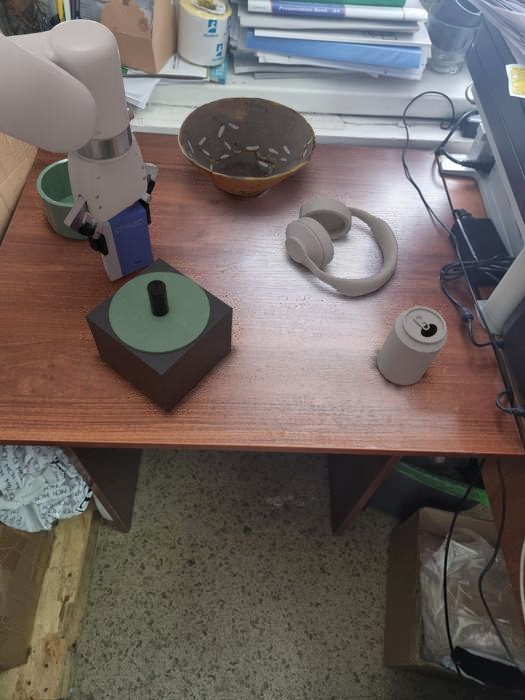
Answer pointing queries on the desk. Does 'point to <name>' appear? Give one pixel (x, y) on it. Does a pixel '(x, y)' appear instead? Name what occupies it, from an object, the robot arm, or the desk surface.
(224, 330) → the stand
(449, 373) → the desk surface
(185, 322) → the lid
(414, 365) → the can
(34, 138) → the robot arm
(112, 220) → the walkman
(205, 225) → the desk surface
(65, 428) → the desk surface
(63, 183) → the pot
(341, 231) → the headphones
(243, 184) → the bowl
